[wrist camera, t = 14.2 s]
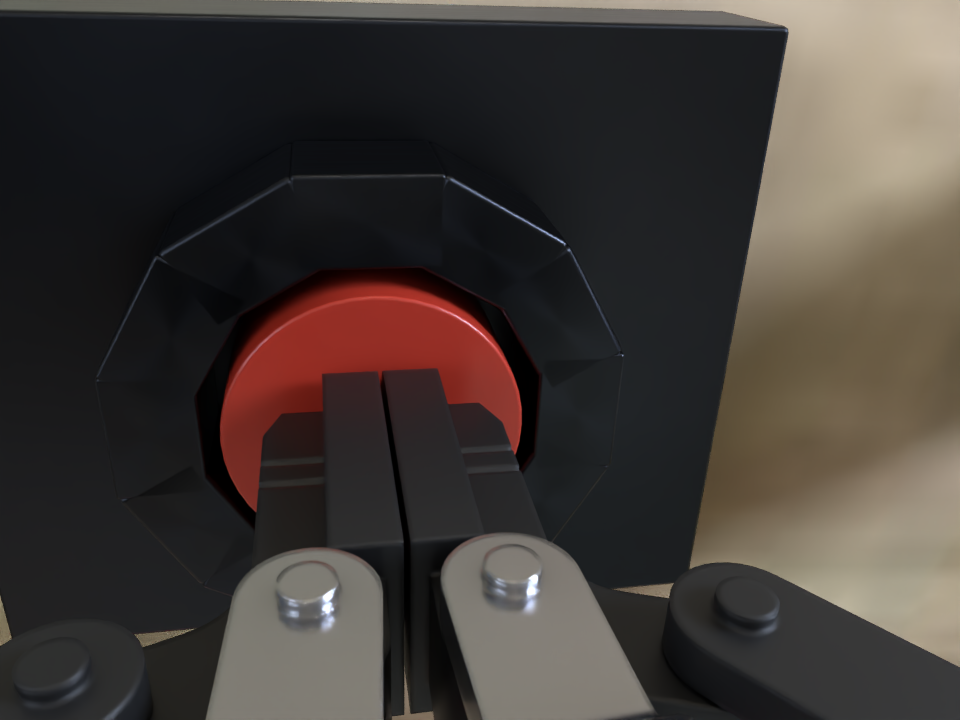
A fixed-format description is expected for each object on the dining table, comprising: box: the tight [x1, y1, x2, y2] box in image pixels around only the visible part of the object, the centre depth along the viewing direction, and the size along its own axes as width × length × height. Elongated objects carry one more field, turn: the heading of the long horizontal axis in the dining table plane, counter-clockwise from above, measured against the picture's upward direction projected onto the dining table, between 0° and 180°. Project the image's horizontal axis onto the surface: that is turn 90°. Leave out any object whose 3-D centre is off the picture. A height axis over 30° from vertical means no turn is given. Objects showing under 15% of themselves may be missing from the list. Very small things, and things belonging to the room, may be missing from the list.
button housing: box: [0, 0, 788, 639], centre depth 14 cm, size 12×10×4 cm
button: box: [220, 268, 522, 512], centre depth 12 cm, size 4×4×2 cm
